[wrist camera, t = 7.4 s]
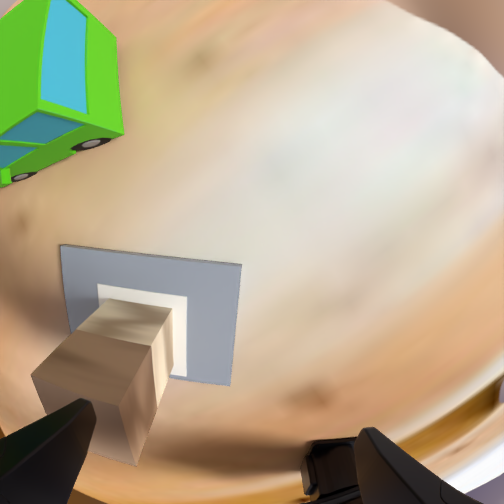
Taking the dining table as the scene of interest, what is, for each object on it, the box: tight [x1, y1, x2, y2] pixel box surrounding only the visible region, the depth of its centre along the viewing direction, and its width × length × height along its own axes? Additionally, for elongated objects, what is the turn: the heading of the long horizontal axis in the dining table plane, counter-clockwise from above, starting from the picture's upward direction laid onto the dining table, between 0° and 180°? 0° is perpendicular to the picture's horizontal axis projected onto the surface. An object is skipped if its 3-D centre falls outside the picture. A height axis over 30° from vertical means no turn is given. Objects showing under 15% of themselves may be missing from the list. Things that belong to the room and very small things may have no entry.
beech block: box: [77, 298, 174, 408], centre depth 17 cm, size 5×5×5 cm
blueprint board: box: [60, 244, 242, 386], centre depth 20 cm, size 14×10×1 cm
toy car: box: [0, 0, 124, 188], centre depth 12 cm, size 10×13×10 cm
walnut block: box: [31, 329, 157, 467], centre depth 12 cm, size 5×5×5 cm
